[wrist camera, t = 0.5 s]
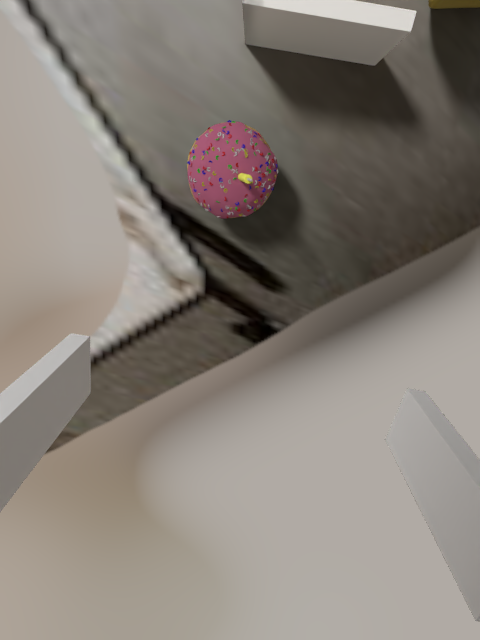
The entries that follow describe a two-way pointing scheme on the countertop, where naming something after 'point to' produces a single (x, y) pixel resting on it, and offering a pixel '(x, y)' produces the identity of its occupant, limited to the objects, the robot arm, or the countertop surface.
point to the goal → (327, 28)
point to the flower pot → (453, 4)
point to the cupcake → (231, 170)
